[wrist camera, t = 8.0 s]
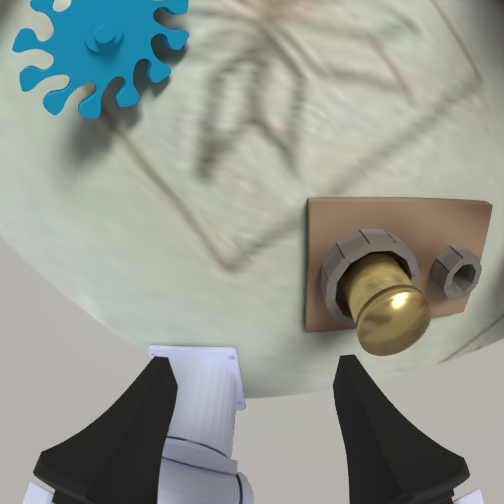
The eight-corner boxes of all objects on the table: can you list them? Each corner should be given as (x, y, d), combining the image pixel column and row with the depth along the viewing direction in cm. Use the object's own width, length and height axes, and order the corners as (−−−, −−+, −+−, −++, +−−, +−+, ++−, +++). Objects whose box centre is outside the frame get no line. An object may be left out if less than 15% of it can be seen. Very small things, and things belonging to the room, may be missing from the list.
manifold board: (458, 305, 21) (473, 325, 18) (304, 324, 22) (309, 351, 19) (485, 201, 16) (508, 214, 14) (307, 197, 17) (316, 213, 15)
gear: (117, 149, 15) (-24, 84, 6) (101, 119, 17) (-4, 68, 9) (239, 10, 12) (129, -90, 4) (195, 9, 15) (106, -62, 6)
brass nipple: (390, 291, 19) (422, 347, 14) (335, 299, 19) (355, 361, 14) (395, 238, 17) (438, 287, 12) (336, 245, 18) (362, 300, 12)
